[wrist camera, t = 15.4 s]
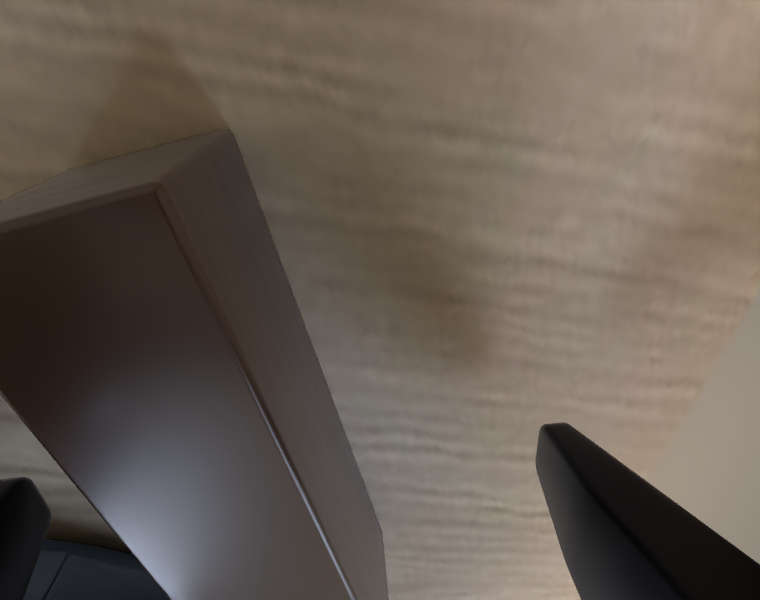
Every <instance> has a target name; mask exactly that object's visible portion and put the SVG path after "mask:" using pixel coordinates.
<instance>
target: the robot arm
mask: <svg viewBox="0 0 760 600" xmlns="http://www.w3.org/2000/svg"><path fill="white" fill-rule="evenodd" d="M536 469H537V473H538V476H539V480H540V483H541V486H542V489H543V492H544V495H545V499H546V502H547V505H548V508H549V511H550V515H551V518H552V521H553V524H554V527H555V530H556V534H557V537H558V540H559V543H560V546H561V549H562V552H563V555H564V558H565V561H566V564H567V567H568V569H569V572H570V574H571V577H572V579H573V581H574V584H575V586H576V588H577V591H578V593H579V595H580V598H581V600H760V565H759V564H758V563H757V562H755V561H754V560H753V559H751V558H750V557H749V556H747V555H746V554H745V553H743V552H742V551H741V550H739V549H738V548H737V547H735V546H734V545H732V544H731V543H730V542H728V541H727V540H726V539H724V538H723V537H721V536H720V535H719V534H717V533H716V532H715V531H713V530H712V529H711V528H709V527H708V526H706V525H705V524H704V523H703V522H701V521H700V520H698V519H697V518H696V517H694V516H693V515H692V514H690V513H689V512H688V511H686V510H685V509H683V508H682V507H681V506H679V505H678V504H677V503H675V502H674V501H672V500H671V499H670V498H668V497H667V496H666V495H664V494H663V493H662V492H660V491H659V490H658V489H656V488H655V487H654V486H652V485H651V484H649V483H648V482H647V481H645V480H644V479H643V478H641V477H640V476H639V475H637V474H636V473H635V472H633V471H632V470H630V469H629V468H628V467H626V466H625V465H624V464H622V463H621V462H620V461H618V460H617V459H615V458H614V457H613V456H611V455H610V454H609V453H607V452H606V451H605V450H603V449H602V448H601V447H599V446H598V445H596V444H595V443H594V442H592V441H591V440H590V439H588V438H587V437H586V436H584V435H583V434H582V433H580V432H579V431H577V430H576V429H575V428H573V427H572V426H571V425H569V424H567V423H553V424H544V425H542V426H541V428H540V431H539V438H538V445H537V453H536ZM50 519H51V513H50V509H49V507H48V505H47V504H46V502H45V500H44V499H43V497H42V496H41V494H40V492H39V491H38V489H37V487H36V486H35V484H34V483H33V481H32V480H30V479H29V478H26V477H20V478H10V479H3V480H0V600H23V599H24V596H25V593H26V590H27V587H28V584H29V582H30V579H31V576H32V573H33V570H34V567H35V565H36V562H37V559H38V556H39V553H40V550H41V548H42V545H43V542H44V539H45V536H46V534H47V531H48V528H49V525H50Z"/></svg>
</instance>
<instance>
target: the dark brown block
mask: <svg viewBox="0 0 760 600" xmlns="http://www.w3.org/2000/svg"><path fill="white" fill-rule="evenodd" d="M0 394H1V396H2V397H3V398H4V399H5V401H6V402H7V403H8V404H9V405H10V407H11V408H12V409H13V410H14V411H15V413H16V414H17V415H18V416H19V418H20V419H21V420H22V421H23V422H24V424H25V425H26V426H27V427H28V428H29V430H30V431H31V432H32V433H33V435H34V436H35V437H36V438H37V439H38V441H39V442H40V443H41V444H42V445H43V447H44V448H45V449H46V450H47V451H48V453H49V454H50V455H51V456H52V458H53V459H54V460H55V461H56V462H57V464H58V465H59V466H60V467H61V468H62V470H63V471H64V472H65V473H66V475H67V476H68V477H69V478H70V479H71V481H72V482H73V483H74V484H75V485H76V487H77V488H78V489H79V490H80V492H81V493H82V494H83V495H84V496H85V498H86V499H87V500H88V501H89V502H90V504H91V505H92V506H93V507H94V509H95V510H96V511H97V512H98V513H99V515H100V516H101V517H102V518H103V519H104V521H105V522H106V523H107V524H108V525H109V527H110V528H111V529H112V530H113V532H114V533H115V534H116V535H117V536H118V538H119V539H120V540H121V541H122V542H123V544H124V545H125V546H126V547H127V549H128V550H129V551H130V552H131V553H132V555H133V556H134V557H135V558H136V559H137V561H138V562H139V563H140V564H141V566H142V567H143V568H144V569H145V570H146V572H147V573H148V574H149V575H150V576H151V578H152V579H153V580H154V581H155V583H156V584H157V585H158V586H159V587H160V589H161V590H162V591H163V592H164V593H165V595H166V596H167V597H168V598H169V599H170V600H389V597H388V586H387V576H386V566H385V555H384V545H383V535H382V530H381V527H380V525H379V522H378V519H377V517H376V514H375V511H374V509H373V506H372V503H371V501H370V498H369V495H368V493H367V490H366V487H365V485H364V482H363V479H362V477H361V474H360V471H359V469H358V466H357V463H356V461H355V458H354V455H353V453H352V450H351V447H350V445H349V442H348V439H347V437H346V434H345V431H344V429H343V426H342V423H341V421H340V418H339V415H338V413H337V410H336V407H335V405H334V402H333V399H332V397H331V394H330V391H329V389H328V386H327V383H326V380H325V378H324V375H323V372H322V370H321V367H320V364H319V362H318V359H317V356H316V354H315V351H314V348H313V346H312V343H311V340H310V338H309V335H308V332H307V330H306V327H305V324H304V322H303V319H302V316H301V314H300V311H299V308H298V306H297V303H296V300H295V298H294V295H293V292H292V290H291V287H290V284H289V282H288V279H287V276H286V274H285V271H284V268H283V266H282V263H281V260H280V258H279V255H278V252H277V250H276V247H275V244H274V242H273V239H272V236H271V234H270V231H269V228H268V226H267V223H266V220H265V218H264V215H263V212H262V210H261V207H260V204H259V202H258V199H257V196H256V194H255V191H254V188H253V186H252V183H251V180H250V178H249V175H248V172H247V170H246V167H245V164H244V162H243V159H242V156H241V154H240V151H239V148H238V146H237V143H236V140H235V137H234V135H233V133H232V132H231V131H230V129H225V128H224V129H220V130H216V131H212V132H209V133H205V134H201V135H197V136H194V137H190V138H186V139H183V140H179V141H175V142H171V143H168V144H164V145H160V146H156V147H153V148H149V149H145V150H142V151H138V152H134V153H130V154H127V155H123V156H119V157H115V158H112V159H108V160H104V161H100V162H97V163H93V164H89V165H86V166H82V167H78V168H74V169H71V170H67V171H65V172H63V173H61V174H59V175H56V176H54V177H52V178H50V179H48V180H45V181H43V182H41V183H39V184H37V185H34V186H32V187H30V188H28V189H26V190H23V191H21V192H19V193H17V194H15V195H12V196H10V197H8V198H6V199H4V200H1V201H0Z"/></svg>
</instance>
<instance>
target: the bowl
mask: <svg viewBox="0 0 760 600" xmlns="http://www.w3.org/2000/svg"><path fill="white" fill-rule="evenodd" d="M23 600H170V599H169V598H168V597H167V596H166V595H165V593H164V592H163V591H162V590H161V589H160V587H159V586H158V585H157V584H156V583H155V581H154V580H153V579H152V578H151V576H150V575H149V574H148V573H147V572H146V570H145V569H144V568H143V567H142V566H141V564H140V563H139V562H138V561H137V559H136V558H135V557H134V556H133V555H132V554H128V553H124V552H119V551H115V550H111V549H106V548H102V547H98V546H92V545H85V544H79V543H72V542H65V541H59V540H52V539H44V542H43V545H42V548H41V550H40V553H39V556H38V559H37V562H36V565H35V567H34V570H33V573H32V576H31V579H30V582H29V584H28V587H27V590H26V593H25V596H24V599H23Z"/></svg>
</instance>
